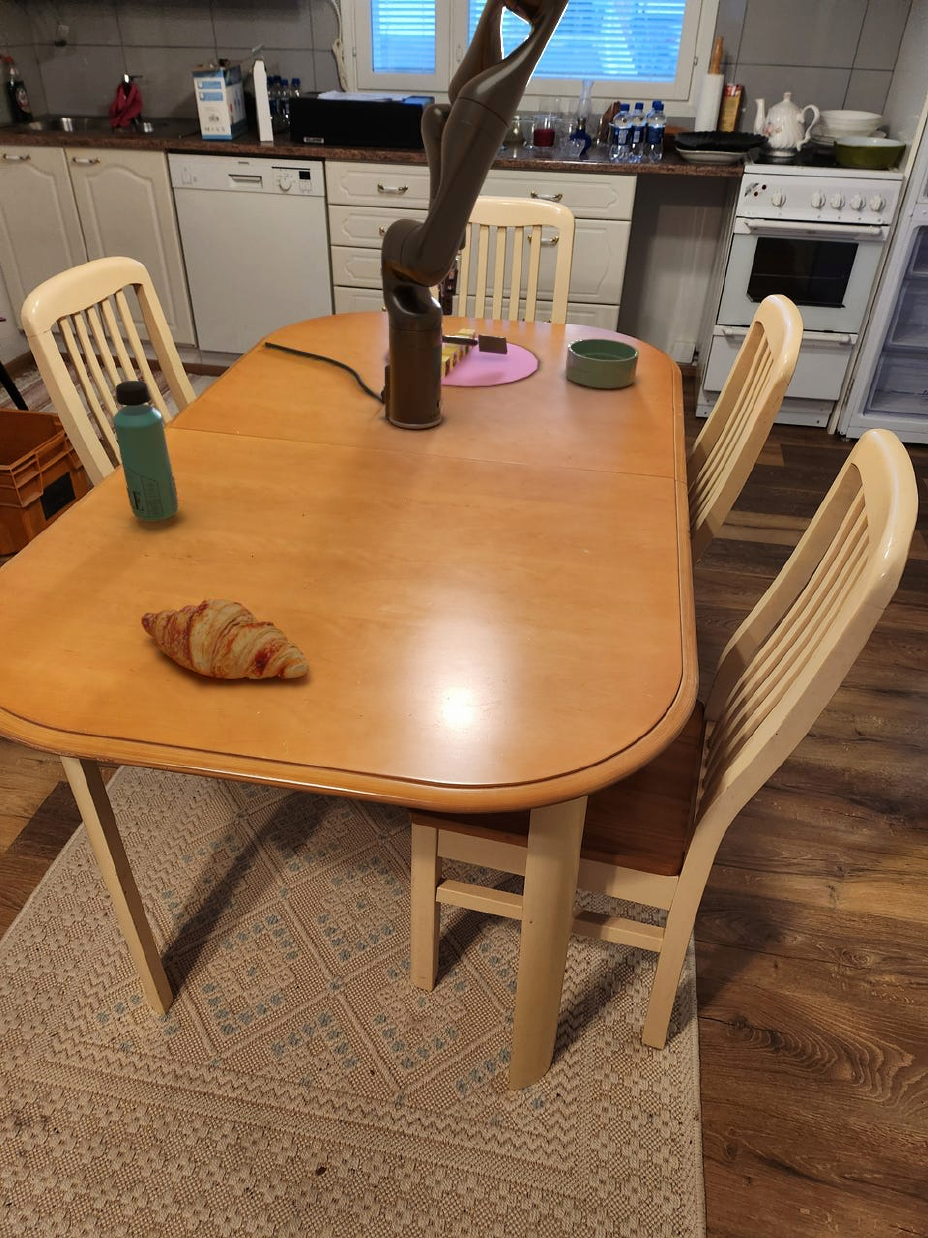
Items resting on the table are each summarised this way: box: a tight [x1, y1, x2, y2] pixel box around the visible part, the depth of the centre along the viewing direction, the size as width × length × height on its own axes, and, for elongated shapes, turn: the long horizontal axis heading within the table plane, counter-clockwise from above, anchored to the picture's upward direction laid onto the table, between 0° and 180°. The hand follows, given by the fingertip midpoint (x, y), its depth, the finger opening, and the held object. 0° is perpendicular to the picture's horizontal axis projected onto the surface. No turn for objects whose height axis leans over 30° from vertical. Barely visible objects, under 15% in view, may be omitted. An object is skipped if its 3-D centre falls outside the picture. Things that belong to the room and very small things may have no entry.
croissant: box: [140, 598, 310, 680], centre depth 97 cm, size 21×10×8 cm, turn 71°
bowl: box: [564, 338, 640, 389], centre depth 177 cm, size 14×14×6 cm
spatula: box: [442, 334, 508, 354], centre depth 182 cm, size 18×4×11 cm
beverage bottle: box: [112, 380, 180, 522], centre depth 118 cm, size 6×7×20 cm
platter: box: [387, 328, 539, 387], centre depth 184 cm, size 32×32×3 cm
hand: (445, 311), depth 179 cm, fingers open, 3 cm apart
